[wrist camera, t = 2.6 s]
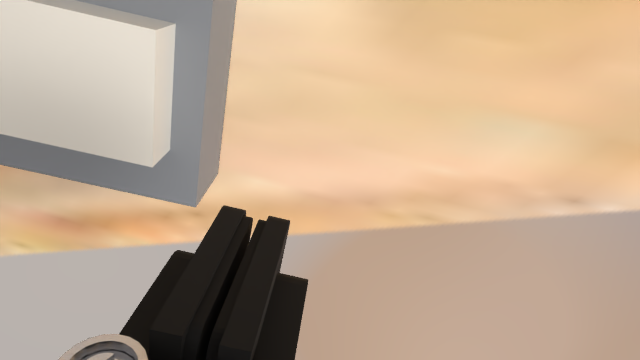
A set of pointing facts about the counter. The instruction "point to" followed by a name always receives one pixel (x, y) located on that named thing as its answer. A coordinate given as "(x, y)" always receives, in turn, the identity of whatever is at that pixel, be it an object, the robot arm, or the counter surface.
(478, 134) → the counter surface
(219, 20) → the grey block
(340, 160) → the counter surface
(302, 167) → the counter surface
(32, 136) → the tile
